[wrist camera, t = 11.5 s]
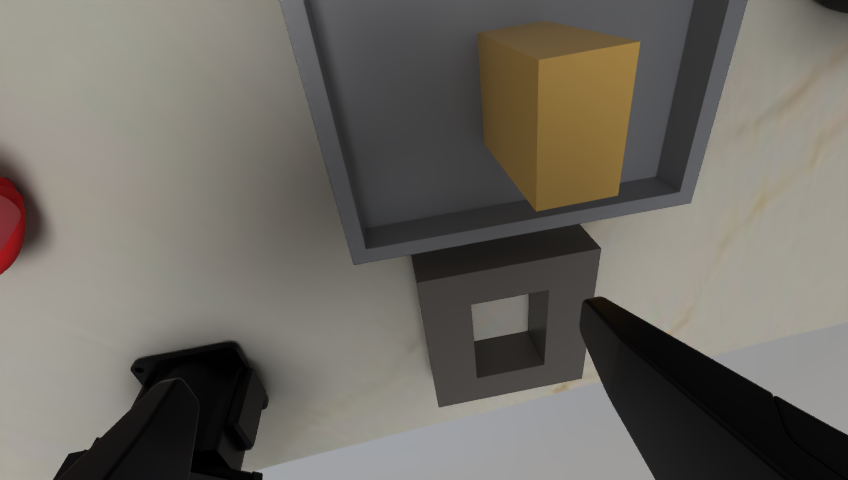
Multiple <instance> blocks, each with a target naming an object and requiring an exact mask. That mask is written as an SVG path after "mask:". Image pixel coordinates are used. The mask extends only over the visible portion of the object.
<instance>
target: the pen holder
mask: <svg viewBox="0 0 848 480" xmlns="http://www.w3.org/2000/svg"><path fill="white" fill-rule="evenodd" d="M819 1H820V2H821V3H822V4H824V5H825V6H827V7H828V8H830V9H834V10H837V11H840V12H844V13H848V0H819Z"/></svg>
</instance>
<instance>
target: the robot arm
mask: <svg viewBox="0 0 848 480" xmlns="http://www.w3.org/2000/svg"><path fill="white" fill-rule="evenodd" d="M579 328H580V333H581V336H582V338H583V340H584V343H585V345H586V347H587V349H588V352H589V354H590V356H591V359H592V361H593V363H594V365H595V368H596V370H597V372H598V375H599V377H600V379H601V382H602V384H603V386H604V388H605V390H606V393H607V395H608V397H609V399H610V400H611V402H612V404H613V406H614V408H615V409H616V411H617V413H618V415H619V416H620V418H621V420H622V422H623V423H624V425H625V427H626V428H627V431H628V432H629V434H630V436H631V438H632V439H633V441H634V443H635V445H636V446H637V448H638V450H639V452H640V453H641V455H642V457H643V458H644V460H645V462H646V464H647V466H648V467H649V469H650V471H651V473H652V474H653V476H654V478H655V480H848V435H847V434H845V433H843V432H841V431H839V430H837V429H835V428H833V427H831V426H830V425H828V424H826V423H824V422H822V421H821V420H819V419H817V418H815V417H814V416H812V415H810V414H808V413H806V412H804V411H803V410H801V409H799V408H797V407H795V406H793V405H792V404H790V403H788V402H787V401H785V400H783V399H781V398H780V397H778V396H774V397H773V395H772V393H771V392H769V391H767V390H765V389H764V388H762V387H760V386H758V385H757V384H755V383H753V382H751V381H750V380H748V379H746V378H744V377H743V376H740V375H739V374H737V373H736V372H734V371H732V370H730V369H729V368H727V367H725V366H723V365H722V364H720V363H718V362H716V361H714V360H713V359H711V358H709V357H708V356H706V355H704V354H702V353H701V352H699V351H697V350H695V349H694V348H692V347H690V346H688V345H687V344H685V343H683V342H681V341H679V340H678V339H676V338H674V337H672V336H671V335H669V334H667V333H665V332H664V331H662V330H660V329H658V328H657V327H655V326H653V325H651V324H650V323H648V322H646V321H644V320H643V319H641V318H639V317H637V316H636V315H634V314H632V313H630V312H629V311H627V310H625V309H623V308H622V307H620V306H618V305H616V304H615V303H613V302H611V301H609V300H608V299H606V298H604V297H594V298H589V299H585V300H584V301H583V302H582V307H581V315H580V323H579ZM229 350H231V351H229ZM130 370H131V372H132V373H133V374H134V376H135V377H136V378H137V379H138V380H139V382H140V383H141V384H142V385H143V387H142V388H141V390H140V392H139V394H138V396H137V398H136V400H135V402H134V404H133V405H132V407H131V409H130V410H129V411H128V412H127V413H126V414H125V415H124V416H123V417H122V418H121V419H120V420H119V421H118V422H117V423H116V424H115V425H114V426H113V427H112V428H111V429H110V430H109V431H107V432H106V433H105V434H104V435H103V436H102V437H101V438H98V437H97V438H96V440H95V441H94V443H93V445H92V446H91V448H90V449H89V450H85V449H84V451H80V452H75V453H70V454H68V456H67V458H66V459H65V461H64V463H63V464H62V466H61V467H60V469H59V471H58V472H57V474H56V476H55V477H54V479H53V480H262V476H263V474H262V473H259V472H254V471H253V472H252V473H251V472H246V471H241V467H242V463H243V458H244V454H245V451H247V450H251V449H252V447H253V446H254V443H255V438H256V434H257V429H258V425H259V420H260V416H261V411H262V410H263V409H266V408H267V406H268V402H269V400H268V398H267V396H266V394H265V393H266V391H265V389H264V387H263V386H262V384H261V382H260V380H259V378H258V377H257V375H256V373H255V371H254V370H253V369H252V368H251V367H250V366H249V364H248V362H247V360H246V359H245V357H244V355H243V353H242V351H241V350H240V348H239V346H238V345H237V344H235V343H224V344H219V345H214V346H208V347H203V348H198V349H193V350H187V351H182V352H177V353H172V354H166V355H161V356H156V357H151V358H145V359H140V360H136V361H135V362H134V363H133V365H132V366H131V369H130Z"/></svg>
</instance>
